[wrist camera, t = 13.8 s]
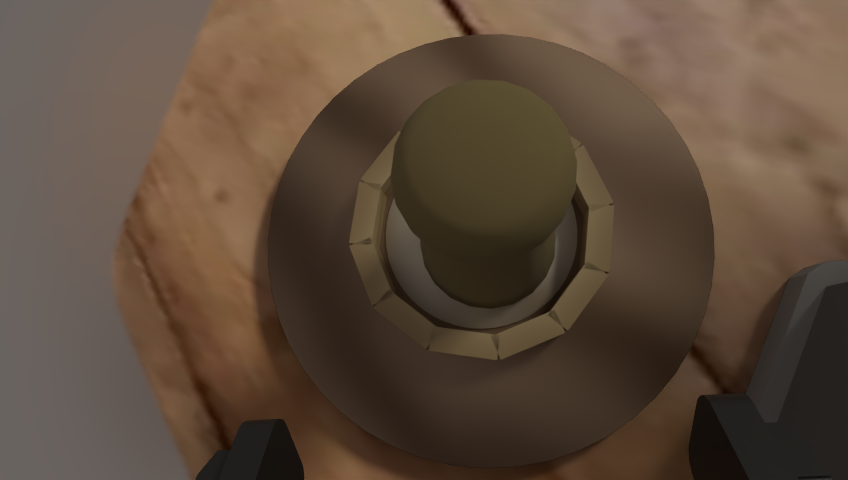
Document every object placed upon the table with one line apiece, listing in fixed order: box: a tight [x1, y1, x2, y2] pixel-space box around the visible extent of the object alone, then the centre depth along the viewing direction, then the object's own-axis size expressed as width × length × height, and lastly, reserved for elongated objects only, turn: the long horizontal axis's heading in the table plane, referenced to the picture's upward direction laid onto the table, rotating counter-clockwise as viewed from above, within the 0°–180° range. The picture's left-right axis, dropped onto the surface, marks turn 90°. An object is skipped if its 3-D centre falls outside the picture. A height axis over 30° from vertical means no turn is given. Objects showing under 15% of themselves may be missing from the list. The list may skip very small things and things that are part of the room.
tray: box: [268, 34, 714, 468], centre depth 25 cm, size 20×20×3 cm
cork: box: [390, 80, 577, 309], centre depth 19 cm, size 6×6×11 cm
